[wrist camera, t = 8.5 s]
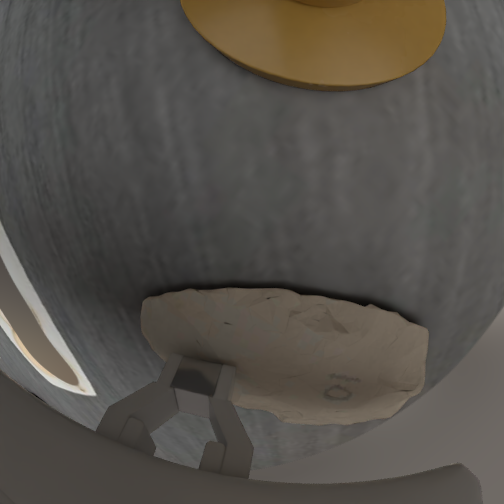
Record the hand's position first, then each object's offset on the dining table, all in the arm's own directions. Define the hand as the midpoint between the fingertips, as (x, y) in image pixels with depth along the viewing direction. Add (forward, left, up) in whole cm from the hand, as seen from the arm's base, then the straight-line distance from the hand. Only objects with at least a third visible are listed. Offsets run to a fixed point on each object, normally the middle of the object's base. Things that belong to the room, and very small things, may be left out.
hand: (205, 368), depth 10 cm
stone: (+4, 0, -2) cm, 4 cm away
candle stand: (+2, +14, -2) cm, 14 cm away
